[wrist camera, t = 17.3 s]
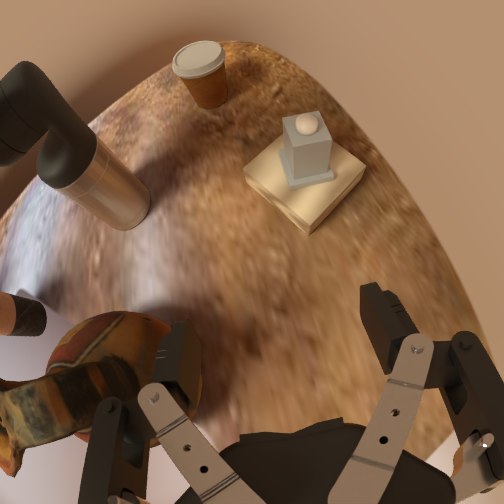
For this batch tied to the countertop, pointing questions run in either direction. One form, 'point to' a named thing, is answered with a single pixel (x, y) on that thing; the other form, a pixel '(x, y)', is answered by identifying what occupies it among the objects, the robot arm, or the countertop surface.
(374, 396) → the countertop surface
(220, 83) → the disposable coffee cup
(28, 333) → the travel mug
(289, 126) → the grey box with knob
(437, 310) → the countertop surface
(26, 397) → the ceramic pitcher
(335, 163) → the birch block
